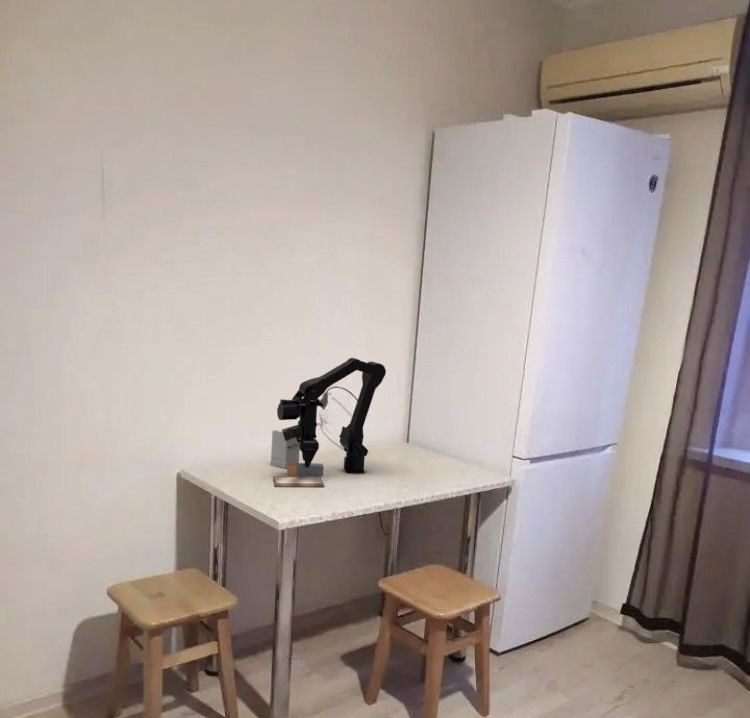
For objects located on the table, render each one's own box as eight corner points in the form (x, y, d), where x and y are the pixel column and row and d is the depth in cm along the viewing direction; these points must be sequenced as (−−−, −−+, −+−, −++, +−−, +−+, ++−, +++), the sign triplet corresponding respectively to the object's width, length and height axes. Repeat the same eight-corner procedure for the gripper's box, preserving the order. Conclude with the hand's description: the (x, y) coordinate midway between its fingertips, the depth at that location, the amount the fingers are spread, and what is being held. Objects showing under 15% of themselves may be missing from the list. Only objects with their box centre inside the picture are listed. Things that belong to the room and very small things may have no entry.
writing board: (320, 477, 241) (320, 475, 241) (324, 487, 230) (324, 485, 230) (272, 477, 238) (272, 475, 238) (274, 487, 227) (274, 484, 227)
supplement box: (285, 468, 249) (286, 433, 248) (270, 464, 254) (271, 429, 252) (299, 465, 255) (301, 430, 254) (284, 461, 259) (286, 427, 258)
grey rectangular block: (321, 473, 246) (322, 462, 246) (322, 476, 243) (323, 465, 242) (286, 473, 244) (287, 462, 244) (287, 476, 240) (288, 465, 240)
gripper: (282, 413, 249) (280, 456, 250) (285, 424, 231) (283, 471, 232) (314, 413, 251) (311, 457, 253) (320, 424, 233) (317, 471, 234)
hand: (305, 463), depth 243 cm, fingers open, 9 cm apart
